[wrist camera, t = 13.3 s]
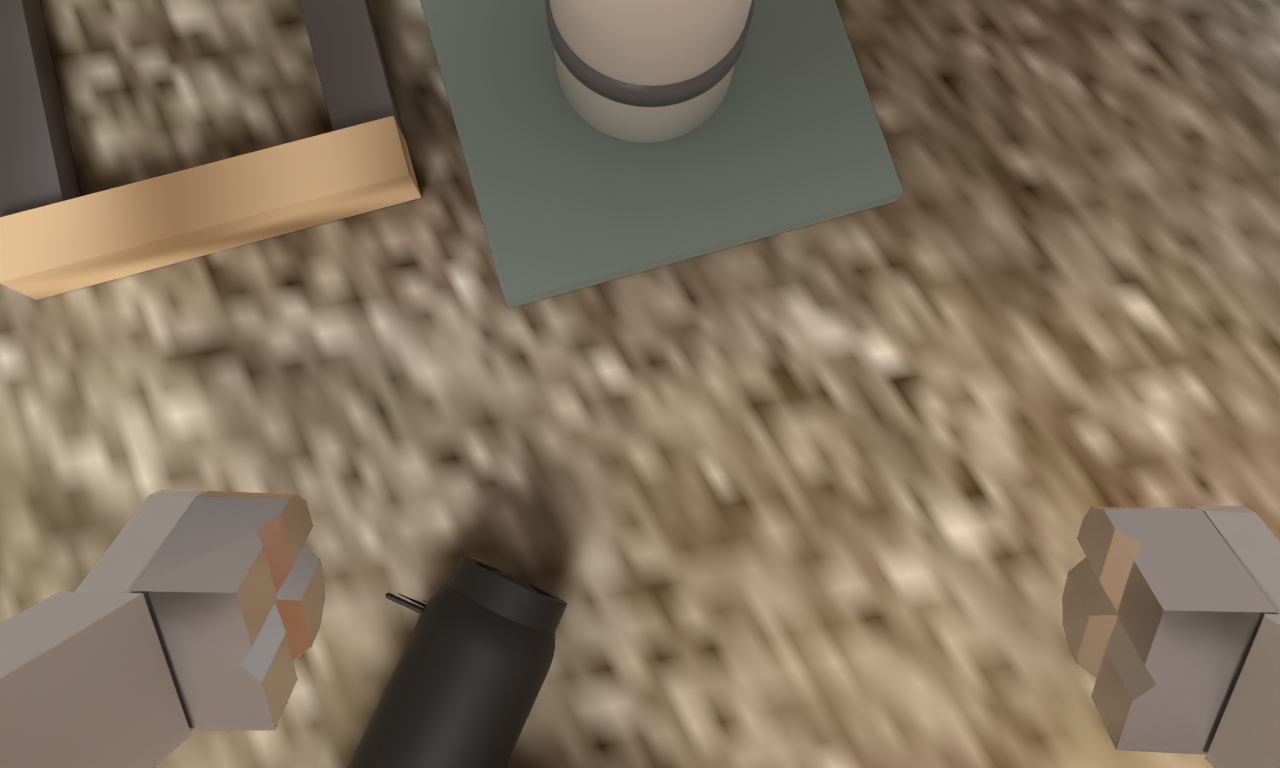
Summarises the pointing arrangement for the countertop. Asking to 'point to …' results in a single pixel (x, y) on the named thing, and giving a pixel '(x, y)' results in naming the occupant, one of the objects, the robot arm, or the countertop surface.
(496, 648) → the door handle
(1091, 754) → the countertop surface
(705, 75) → the white cylinder
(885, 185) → the mat
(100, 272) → the cradle
